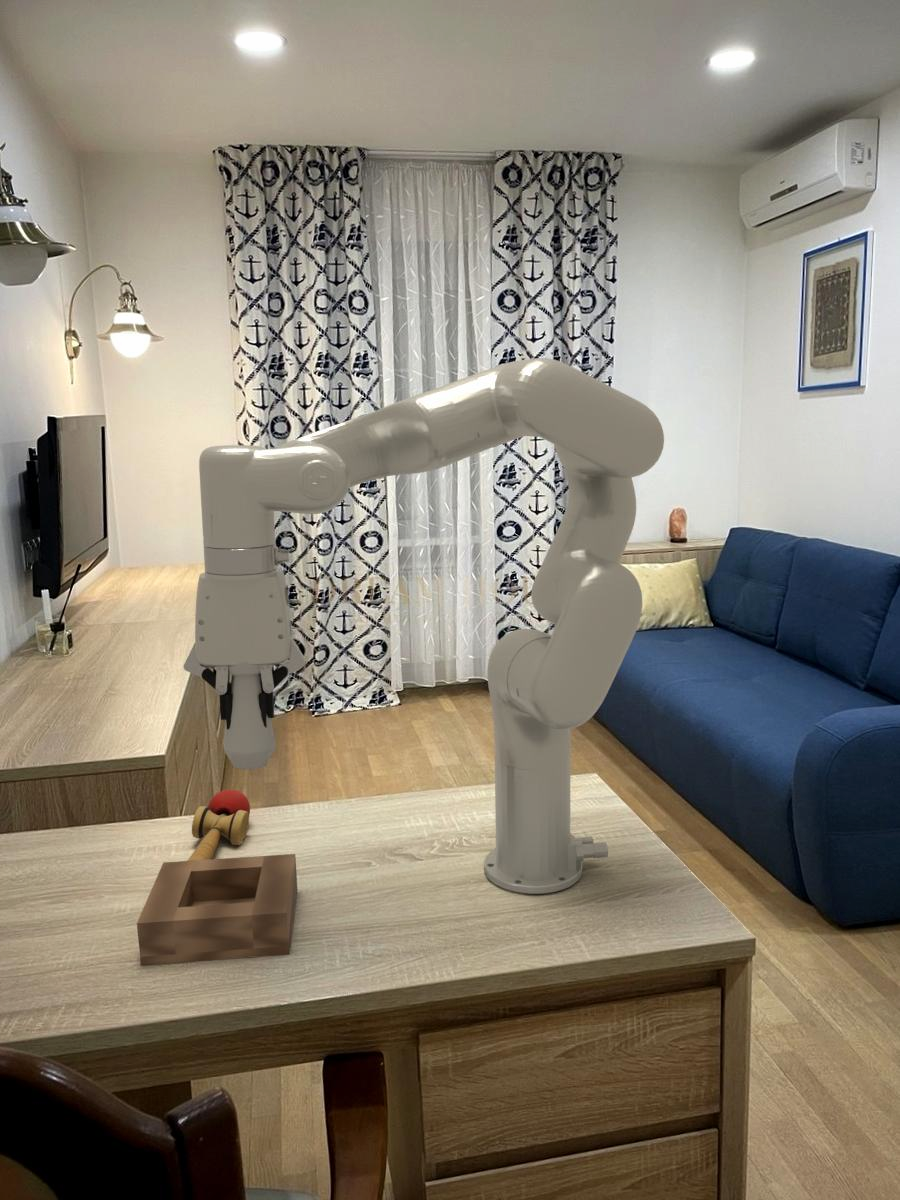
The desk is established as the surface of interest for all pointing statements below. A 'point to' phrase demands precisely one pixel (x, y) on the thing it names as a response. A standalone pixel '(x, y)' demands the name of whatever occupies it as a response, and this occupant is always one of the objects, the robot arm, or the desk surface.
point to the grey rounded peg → (247, 721)
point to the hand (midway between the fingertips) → (248, 723)
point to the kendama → (220, 822)
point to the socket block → (219, 910)
